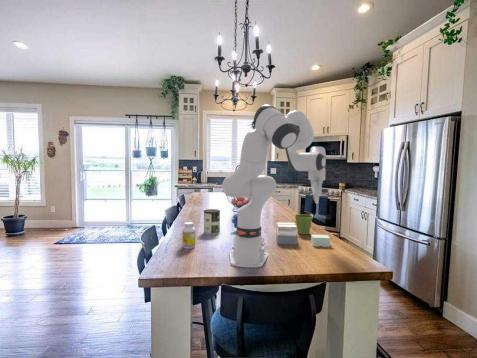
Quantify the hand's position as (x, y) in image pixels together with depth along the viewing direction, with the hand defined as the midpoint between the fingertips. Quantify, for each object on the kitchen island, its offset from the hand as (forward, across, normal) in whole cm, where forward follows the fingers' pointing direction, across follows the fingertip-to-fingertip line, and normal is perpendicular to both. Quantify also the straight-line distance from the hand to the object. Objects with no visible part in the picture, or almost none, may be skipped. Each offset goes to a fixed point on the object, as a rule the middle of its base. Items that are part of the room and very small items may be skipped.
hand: (315, 201), depth 147 cm
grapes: (+24, +17, +45) cm, 54 cm away
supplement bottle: (+24, -21, +66) cm, 73 cm away
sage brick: (+24, 0, -3) cm, 24 cm away
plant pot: (+24, +22, +5) cm, 33 cm away
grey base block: (+24, +2, +16) cm, 29 cm away
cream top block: (+19, +2, +16) cm, 25 cm away
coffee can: (+24, +10, +62) cm, 67 cm away
